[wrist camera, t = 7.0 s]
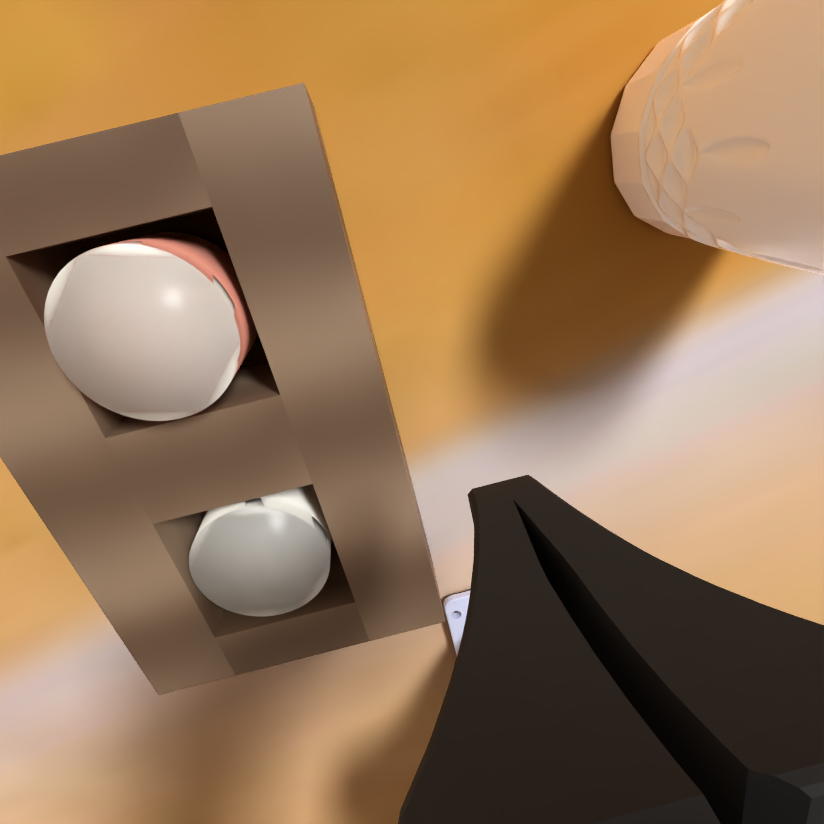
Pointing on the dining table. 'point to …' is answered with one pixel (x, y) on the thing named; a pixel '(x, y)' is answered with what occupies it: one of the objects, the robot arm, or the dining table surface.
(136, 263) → the plunger
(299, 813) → the dining table surface
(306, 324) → the housing
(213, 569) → the white domed canister
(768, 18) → the white cup
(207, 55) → the dining table surface
